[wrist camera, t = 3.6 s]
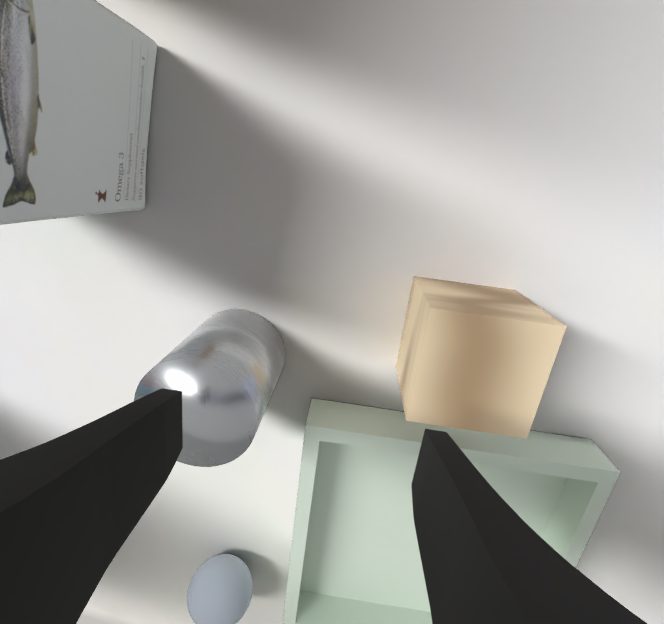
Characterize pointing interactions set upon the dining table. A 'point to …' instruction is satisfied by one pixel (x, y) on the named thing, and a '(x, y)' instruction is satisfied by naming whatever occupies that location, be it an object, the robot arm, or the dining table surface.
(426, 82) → the dining table surface
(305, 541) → the sage tray
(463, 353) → the maple block
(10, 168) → the supplement box
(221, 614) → the rubber ball
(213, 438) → the grey can
